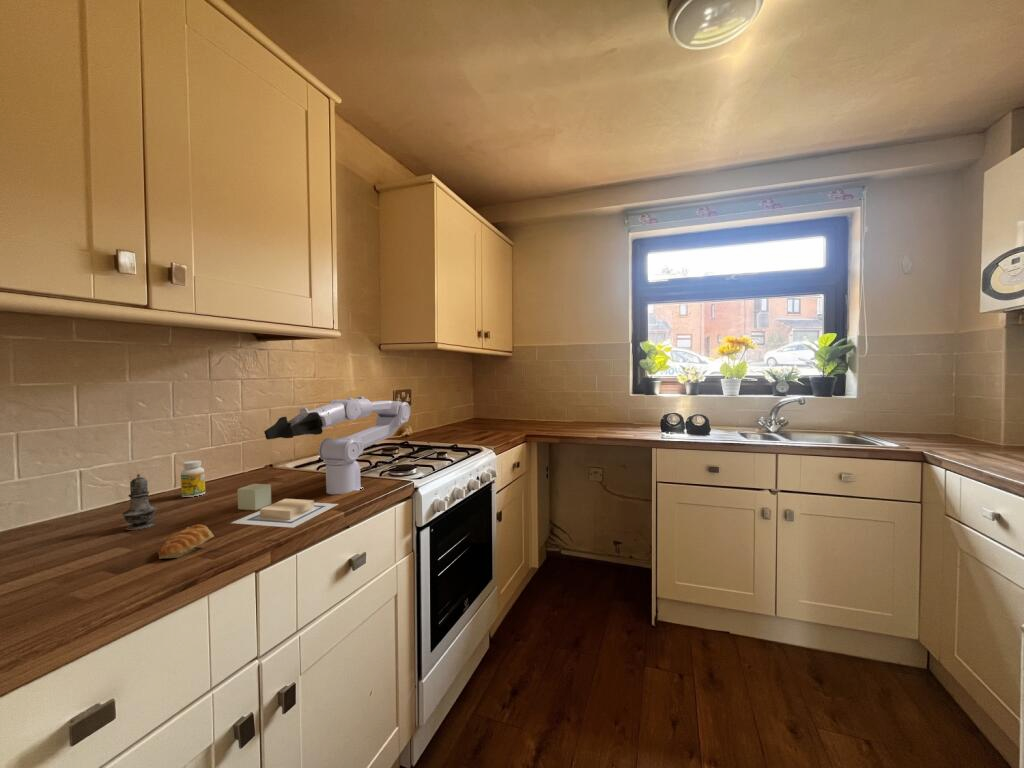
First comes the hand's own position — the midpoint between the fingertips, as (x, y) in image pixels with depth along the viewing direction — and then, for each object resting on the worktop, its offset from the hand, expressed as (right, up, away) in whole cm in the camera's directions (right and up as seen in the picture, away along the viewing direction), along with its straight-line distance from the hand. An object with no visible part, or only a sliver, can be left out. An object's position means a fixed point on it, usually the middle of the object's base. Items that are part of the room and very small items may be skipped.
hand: (278, 433), depth 97 cm
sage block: (-10, -20, +7) cm, 23 cm away
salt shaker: (-29, -21, -3) cm, 36 cm away
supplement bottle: (-36, -20, +20) cm, 46 cm away
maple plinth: (+1, -19, +1) cm, 19 cm away
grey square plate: (+1, -20, +1) cm, 20 cm away
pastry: (-9, -21, -16) cm, 28 cm away
